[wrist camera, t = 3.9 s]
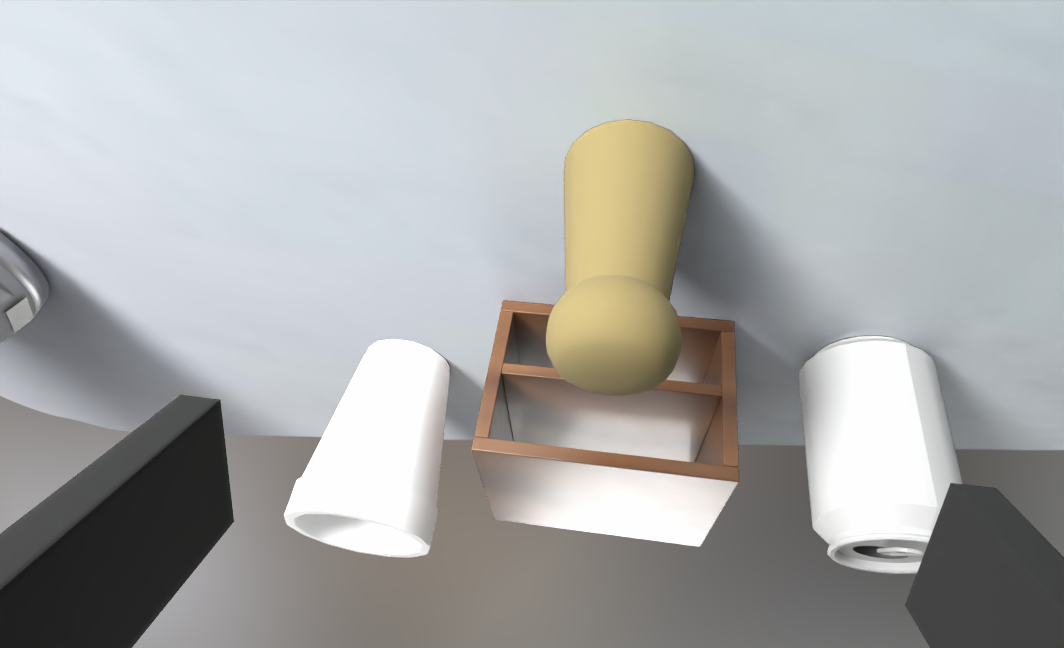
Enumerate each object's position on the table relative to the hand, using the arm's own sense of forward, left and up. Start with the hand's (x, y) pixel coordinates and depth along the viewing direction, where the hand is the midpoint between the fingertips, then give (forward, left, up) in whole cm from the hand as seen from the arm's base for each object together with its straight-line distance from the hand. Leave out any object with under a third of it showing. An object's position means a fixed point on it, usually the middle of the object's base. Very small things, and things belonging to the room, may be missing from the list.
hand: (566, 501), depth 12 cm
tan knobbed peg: (+7, -7, -19) cm, 21 cm away
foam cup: (+8, -32, -19) cm, 38 cm away
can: (+27, -8, -19) cm, 34 cm away
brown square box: (+18, -20, -19) cm, 33 cm away
